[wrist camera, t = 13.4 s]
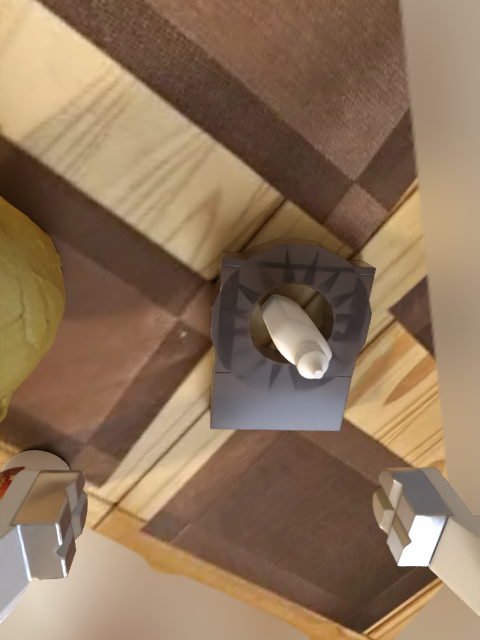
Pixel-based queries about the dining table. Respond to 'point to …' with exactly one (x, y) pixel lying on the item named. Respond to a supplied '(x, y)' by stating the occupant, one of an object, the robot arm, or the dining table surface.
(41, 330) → the pitcher
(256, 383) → the grey ring plate
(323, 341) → the eye dropper bottle
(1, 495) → the milk bottle
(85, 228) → the dining table surface
